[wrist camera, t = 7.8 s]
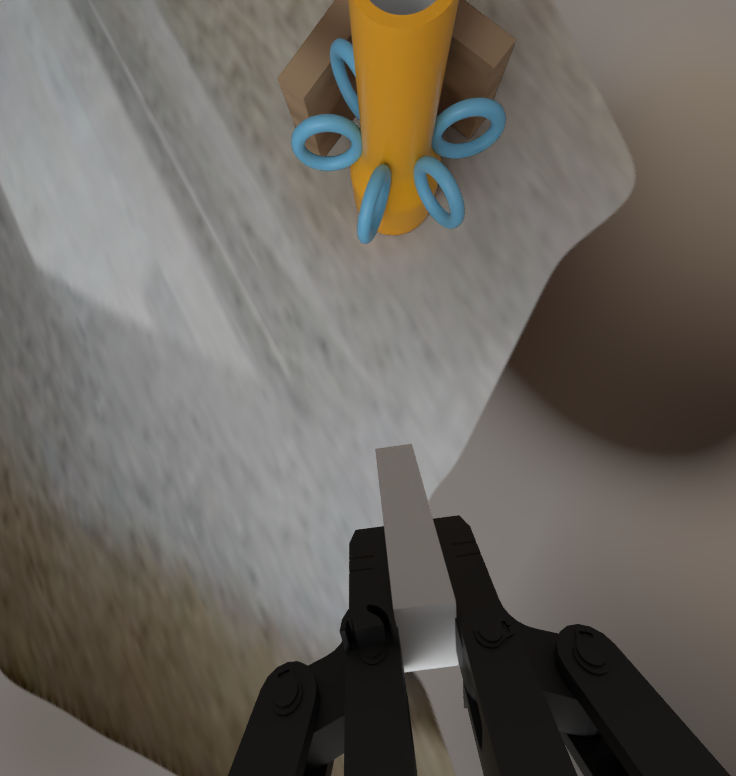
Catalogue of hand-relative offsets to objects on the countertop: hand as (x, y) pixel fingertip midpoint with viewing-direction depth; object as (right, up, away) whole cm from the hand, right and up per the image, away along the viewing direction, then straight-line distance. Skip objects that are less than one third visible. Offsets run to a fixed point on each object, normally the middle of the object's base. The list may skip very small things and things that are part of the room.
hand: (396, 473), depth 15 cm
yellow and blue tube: (+1, +18, +12) cm, 22 cm away
